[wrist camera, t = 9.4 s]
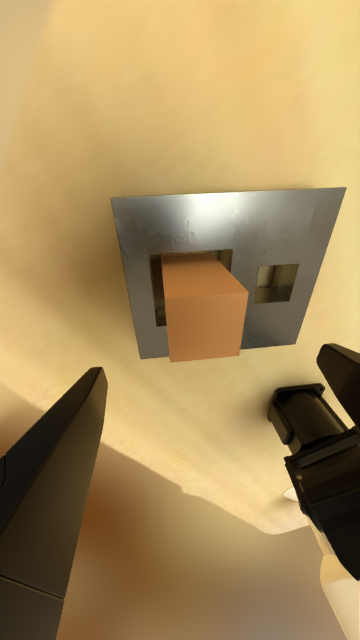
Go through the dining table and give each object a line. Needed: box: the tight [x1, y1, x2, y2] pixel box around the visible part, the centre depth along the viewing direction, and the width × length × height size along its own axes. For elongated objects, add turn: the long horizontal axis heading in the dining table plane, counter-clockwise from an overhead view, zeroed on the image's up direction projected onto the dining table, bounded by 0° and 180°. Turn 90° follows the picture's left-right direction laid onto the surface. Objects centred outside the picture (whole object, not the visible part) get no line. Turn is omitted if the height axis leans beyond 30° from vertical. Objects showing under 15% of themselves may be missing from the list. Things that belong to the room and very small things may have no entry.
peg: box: [161, 252, 249, 362], centre depth 14 cm, size 4×4×8 cm
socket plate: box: [111, 187, 347, 359], centre depth 16 cm, size 14×12×3 cm
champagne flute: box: [283, 487, 360, 640], centre depth 37 cm, size 7×7×24 cm
